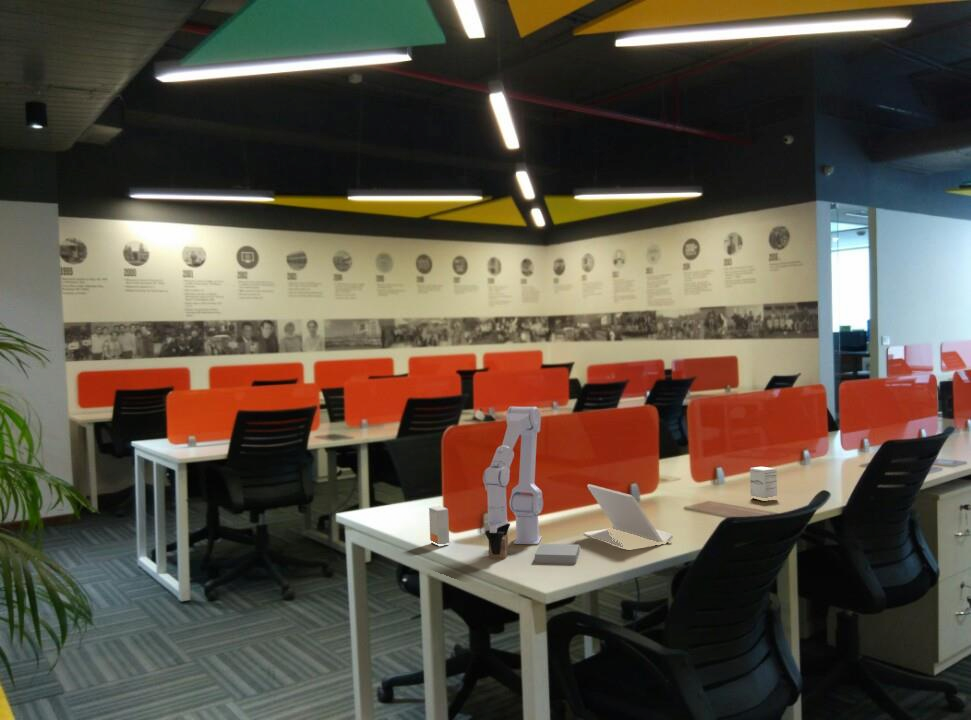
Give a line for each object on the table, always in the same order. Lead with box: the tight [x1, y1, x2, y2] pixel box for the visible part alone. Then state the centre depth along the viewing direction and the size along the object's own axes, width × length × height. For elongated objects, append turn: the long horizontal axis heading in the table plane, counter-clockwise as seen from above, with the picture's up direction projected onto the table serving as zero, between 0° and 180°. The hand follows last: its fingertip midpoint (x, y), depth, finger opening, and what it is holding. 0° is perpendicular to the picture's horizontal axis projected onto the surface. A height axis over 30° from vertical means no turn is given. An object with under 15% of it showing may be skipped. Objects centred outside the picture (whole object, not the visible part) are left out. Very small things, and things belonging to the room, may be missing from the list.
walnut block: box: [488, 534, 509, 560], centre depth 232 cm, size 5×5×6 cm
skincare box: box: [428, 505, 450, 544], centre depth 249 cm, size 6×4×12 cm
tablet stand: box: [583, 483, 674, 547], centre depth 248 cm, size 18×25×17 cm
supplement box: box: [749, 466, 778, 498], centre depth 301 cm, size 7×7×13 cm
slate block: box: [534, 543, 581, 565], centre depth 229 cm, size 12×12×3 cm
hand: (498, 550), depth 232 cm, fingers open, 7 cm apart
